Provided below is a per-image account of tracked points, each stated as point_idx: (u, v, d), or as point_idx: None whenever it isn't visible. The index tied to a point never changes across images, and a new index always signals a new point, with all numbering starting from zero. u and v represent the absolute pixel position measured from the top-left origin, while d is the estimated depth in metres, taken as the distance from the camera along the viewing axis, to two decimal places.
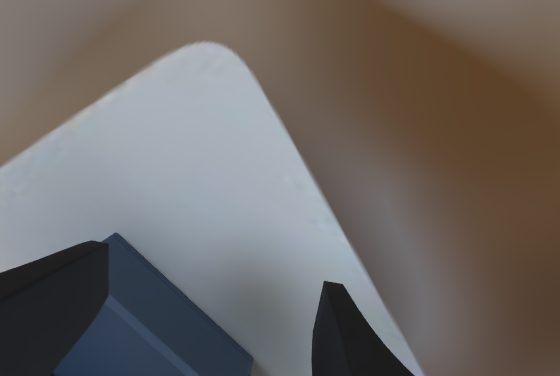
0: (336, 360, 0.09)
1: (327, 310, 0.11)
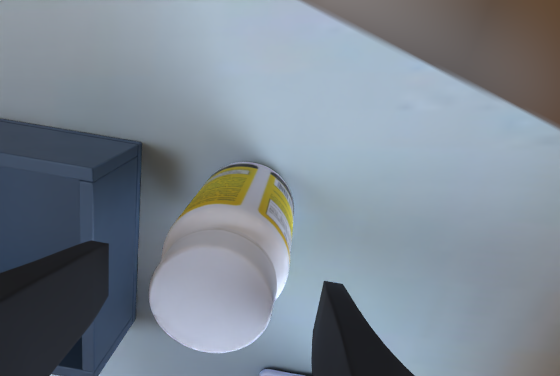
0: (336, 360, 0.09)
1: (327, 310, 0.11)
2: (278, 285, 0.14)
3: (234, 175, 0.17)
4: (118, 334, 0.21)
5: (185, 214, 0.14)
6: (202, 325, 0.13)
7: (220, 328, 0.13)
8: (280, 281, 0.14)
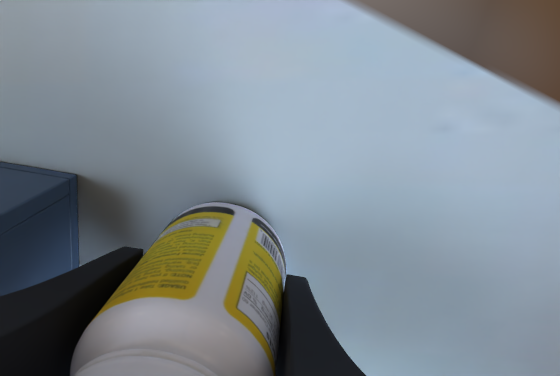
0: (286, 351, 0.09)
1: (285, 303, 0.11)
2: None
3: (197, 229, 0.12)
4: None
5: (104, 312, 0.09)
6: None
7: None
8: None
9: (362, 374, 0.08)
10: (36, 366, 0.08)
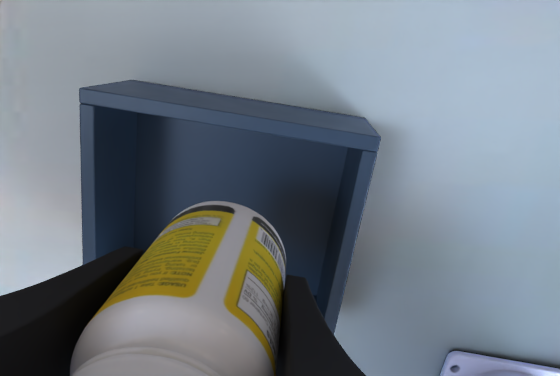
0: (286, 351, 0.09)
1: (285, 302, 0.11)
2: None
3: (197, 227, 0.12)
4: None
5: (104, 310, 0.09)
6: None
7: None
8: None
9: (362, 374, 0.08)
10: (36, 366, 0.08)
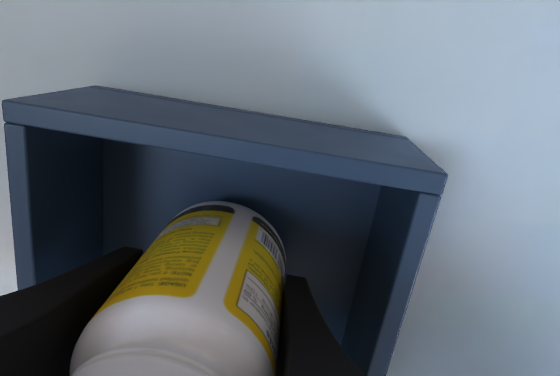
0: (286, 351, 0.09)
1: (285, 303, 0.11)
2: None
3: (197, 227, 0.12)
4: None
5: (104, 310, 0.09)
6: None
7: None
8: None
9: (362, 374, 0.08)
10: (36, 366, 0.08)
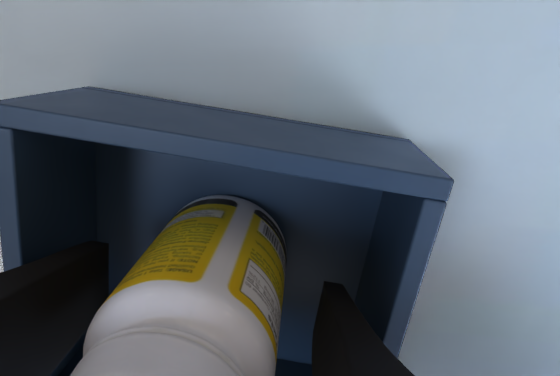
0: (336, 360, 0.09)
1: (327, 310, 0.11)
2: None
3: (202, 219, 0.12)
4: None
5: (116, 294, 0.09)
6: None
7: None
8: None
9: None
10: None
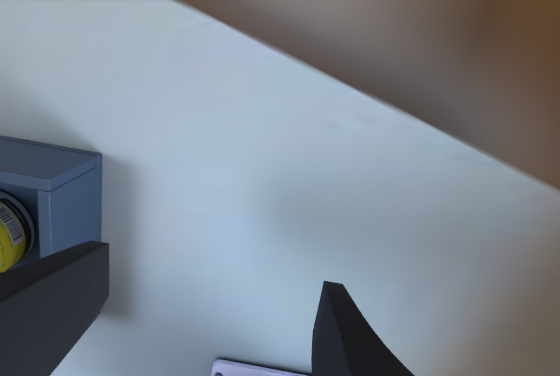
0: (336, 360, 0.09)
1: (327, 310, 0.11)
2: None
3: None
4: None
5: None
6: None
7: None
8: None
9: None
10: None
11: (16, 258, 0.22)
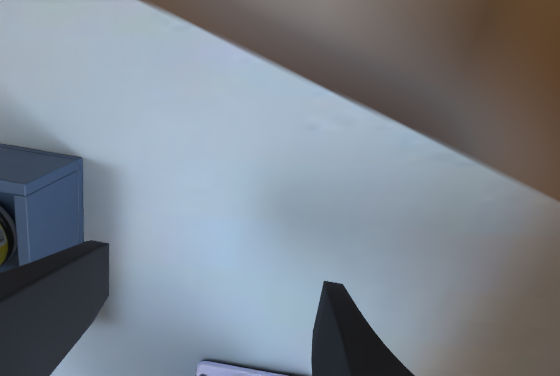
0: (336, 360, 0.09)
1: (327, 310, 0.11)
2: None
3: None
4: None
5: None
6: None
7: None
8: None
9: None
10: None
11: None
